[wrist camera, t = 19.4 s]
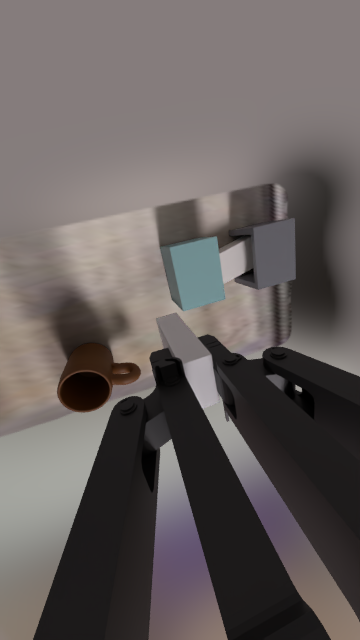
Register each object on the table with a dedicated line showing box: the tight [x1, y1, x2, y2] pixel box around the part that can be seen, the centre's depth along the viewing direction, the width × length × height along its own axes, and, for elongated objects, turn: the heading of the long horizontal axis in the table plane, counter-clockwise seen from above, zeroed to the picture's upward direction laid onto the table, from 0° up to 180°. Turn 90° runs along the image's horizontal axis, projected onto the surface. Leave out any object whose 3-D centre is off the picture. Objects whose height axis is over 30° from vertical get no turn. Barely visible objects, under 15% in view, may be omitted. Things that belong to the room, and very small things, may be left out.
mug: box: [57, 343, 141, 412], centre depth 37 cm, size 12×8×9 cm, turn 95°
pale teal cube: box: [160, 236, 225, 311], centre depth 36 cm, size 7×9×8 cm
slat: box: [219, 235, 254, 284], centre depth 40 cm, size 12×5×4 cm, turn 115°
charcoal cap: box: [229, 218, 296, 290], centre depth 38 cm, size 7×9×8 cm
